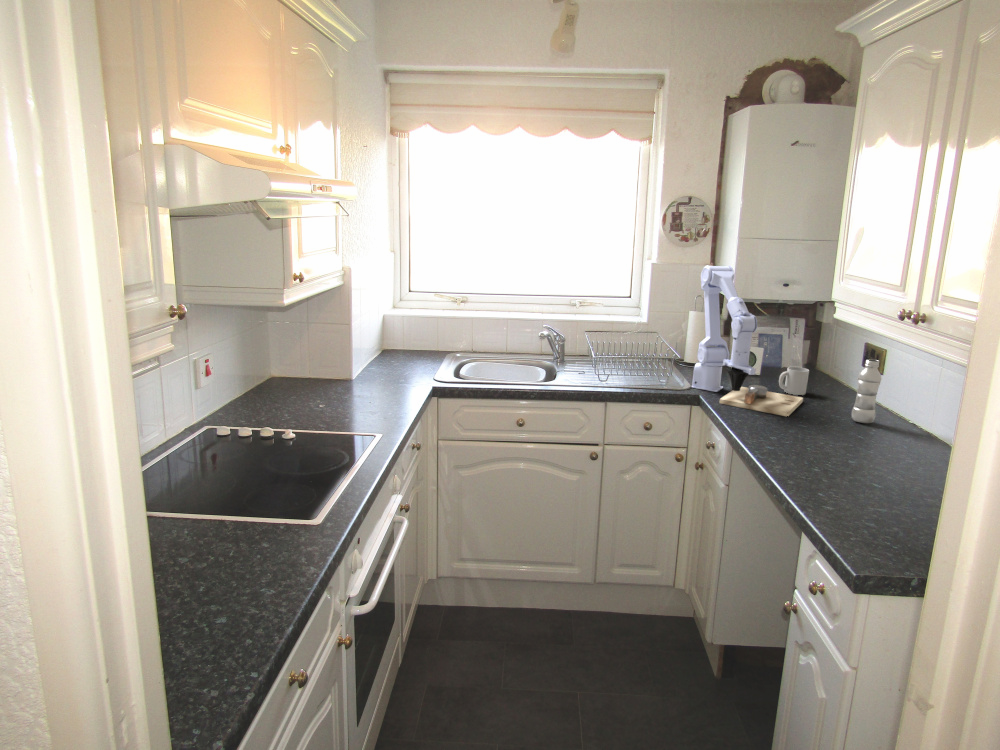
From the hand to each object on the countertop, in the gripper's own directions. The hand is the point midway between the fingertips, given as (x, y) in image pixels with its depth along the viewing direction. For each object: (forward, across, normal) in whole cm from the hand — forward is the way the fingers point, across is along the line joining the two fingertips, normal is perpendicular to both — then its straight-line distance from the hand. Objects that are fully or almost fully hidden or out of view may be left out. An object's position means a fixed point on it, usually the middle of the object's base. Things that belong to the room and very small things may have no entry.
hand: (735, 390), depth 231 cm
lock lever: (+2, +3, +5) cm, 6 cm away
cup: (+4, -7, +29) cm, 30 cm away
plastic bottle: (+4, +27, +27) cm, 39 cm away
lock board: (+4, +2, +9) cm, 11 cm away
